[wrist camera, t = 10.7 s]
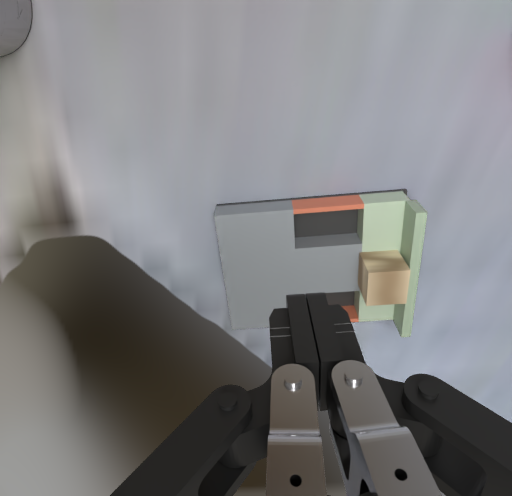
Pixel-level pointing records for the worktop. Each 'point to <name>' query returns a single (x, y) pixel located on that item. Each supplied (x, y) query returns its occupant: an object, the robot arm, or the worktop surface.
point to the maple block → (383, 277)
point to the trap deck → (315, 252)
